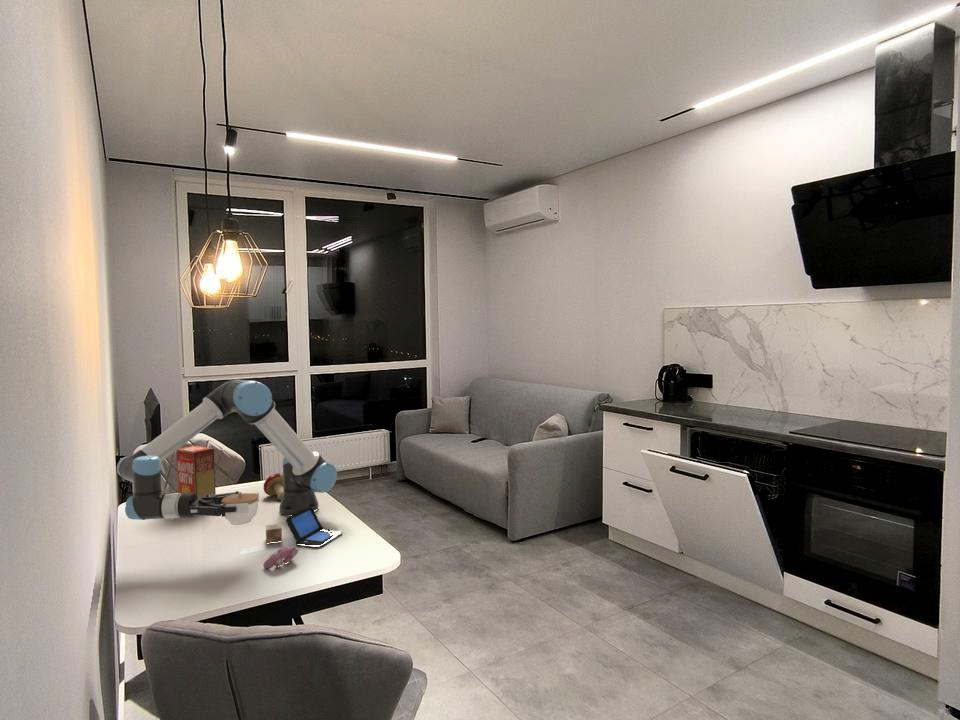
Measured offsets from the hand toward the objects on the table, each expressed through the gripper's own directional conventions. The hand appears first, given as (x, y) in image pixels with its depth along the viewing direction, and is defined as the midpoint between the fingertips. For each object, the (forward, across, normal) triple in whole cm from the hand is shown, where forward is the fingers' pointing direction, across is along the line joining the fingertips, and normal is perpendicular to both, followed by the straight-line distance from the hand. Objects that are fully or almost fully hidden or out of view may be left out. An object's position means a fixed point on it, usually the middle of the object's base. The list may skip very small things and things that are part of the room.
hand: (253, 502), depth 186 cm
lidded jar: (-4, 0, -6) cm, 8 cm away
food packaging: (-39, -58, -18) cm, 72 cm away
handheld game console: (+16, -15, -19) cm, 29 cm away
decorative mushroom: (-10, -70, -19) cm, 73 cm away
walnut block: (+2, -15, -18) cm, 24 cm away
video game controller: (+10, +7, -18) cm, 22 cm away
